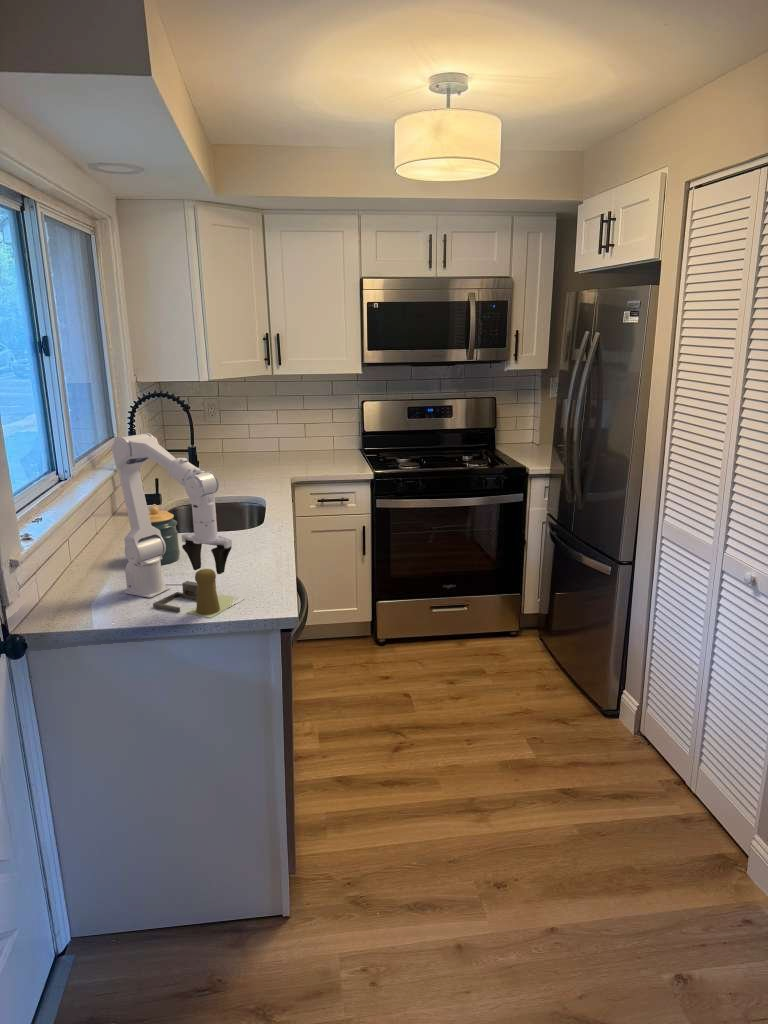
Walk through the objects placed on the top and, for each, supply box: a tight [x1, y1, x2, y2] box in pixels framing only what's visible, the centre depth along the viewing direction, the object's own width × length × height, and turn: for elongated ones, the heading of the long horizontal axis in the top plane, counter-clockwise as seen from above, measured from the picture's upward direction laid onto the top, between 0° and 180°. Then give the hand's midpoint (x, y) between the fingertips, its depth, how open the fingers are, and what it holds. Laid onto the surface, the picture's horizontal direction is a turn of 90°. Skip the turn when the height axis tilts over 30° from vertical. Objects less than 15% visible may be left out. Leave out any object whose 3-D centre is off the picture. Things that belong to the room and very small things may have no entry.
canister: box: [141, 505, 181, 566], centre depth 215 cm, size 13×13×18 cm
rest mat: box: [186, 594, 239, 619], centre depth 179 cm, size 8×14×1 cm, turn 155°
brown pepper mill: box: [194, 568, 220, 615], centre depth 174 cm, size 6×6×11 cm
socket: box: [152, 580, 198, 614], centre depth 183 cm, size 8×15×4 cm, turn 155°
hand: (208, 571), depth 175 cm, fingers open, 7 cm apart
